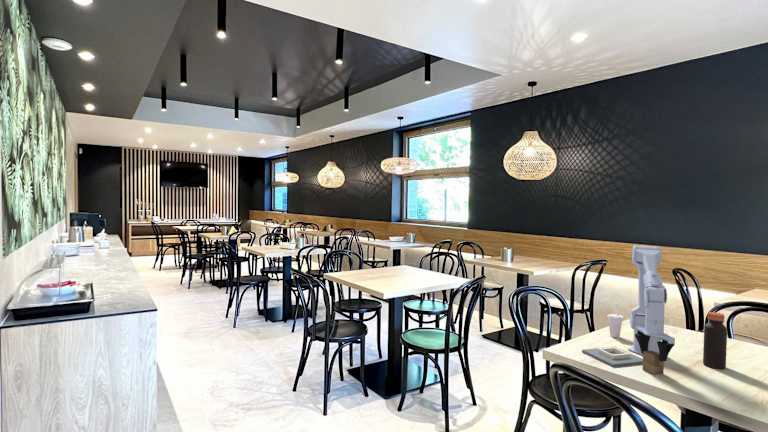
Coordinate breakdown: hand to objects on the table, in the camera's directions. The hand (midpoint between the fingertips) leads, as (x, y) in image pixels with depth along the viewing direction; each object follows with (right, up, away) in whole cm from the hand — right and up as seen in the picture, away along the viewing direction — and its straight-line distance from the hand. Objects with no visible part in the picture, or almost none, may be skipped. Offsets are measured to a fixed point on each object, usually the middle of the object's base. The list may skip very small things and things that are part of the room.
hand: (653, 357), depth 150 cm
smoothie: (+9, -5, +41) cm, 42 cm away
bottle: (+27, -6, +6) cm, 29 cm away
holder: (-7, -5, +14) cm, 16 cm away
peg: (0, -5, 0) cm, 5 cm away
